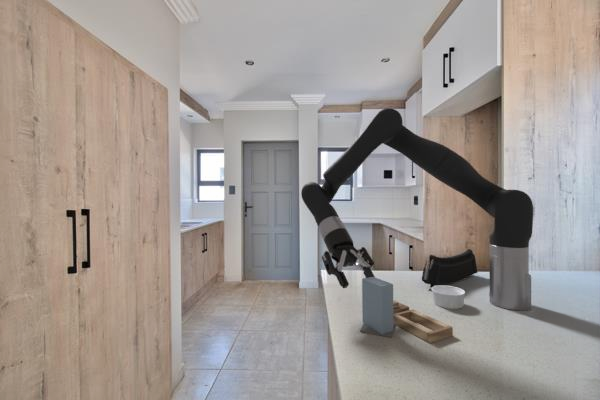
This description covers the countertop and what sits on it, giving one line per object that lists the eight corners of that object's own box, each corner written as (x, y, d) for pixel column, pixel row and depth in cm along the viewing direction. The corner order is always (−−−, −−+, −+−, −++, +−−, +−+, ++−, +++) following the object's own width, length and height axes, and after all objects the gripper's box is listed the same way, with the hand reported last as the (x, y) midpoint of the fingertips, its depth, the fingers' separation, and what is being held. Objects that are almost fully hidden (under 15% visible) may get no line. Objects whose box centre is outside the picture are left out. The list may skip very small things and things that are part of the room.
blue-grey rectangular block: (362, 322, 73) (362, 278, 73) (373, 319, 75) (373, 276, 74) (381, 334, 67) (381, 286, 67) (393, 330, 68) (393, 284, 68)
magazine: (472, 251, 117) (428, 235, 102) (480, 252, 115) (437, 236, 99) (465, 293, 115) (419, 284, 100) (474, 296, 112) (428, 287, 97)
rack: (377, 314, 78) (376, 301, 78) (397, 309, 82) (397, 296, 82) (430, 343, 63) (430, 326, 63) (452, 335, 66) (452, 320, 66)
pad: (394, 324, 72) (394, 323, 72) (391, 337, 66) (391, 335, 66) (366, 320, 75) (366, 318, 75) (360, 331, 69) (360, 330, 69)
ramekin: (460, 313, 79) (460, 297, 79) (427, 305, 85) (427, 290, 85) (468, 303, 86) (468, 289, 86) (436, 296, 92) (436, 283, 92)
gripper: (318, 228, 81) (343, 280, 71) (360, 225, 87) (387, 273, 77) (309, 244, 85) (331, 295, 75) (349, 241, 92) (374, 287, 82)
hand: (359, 284), depth 76 cm, fingers open, 8 cm apart
